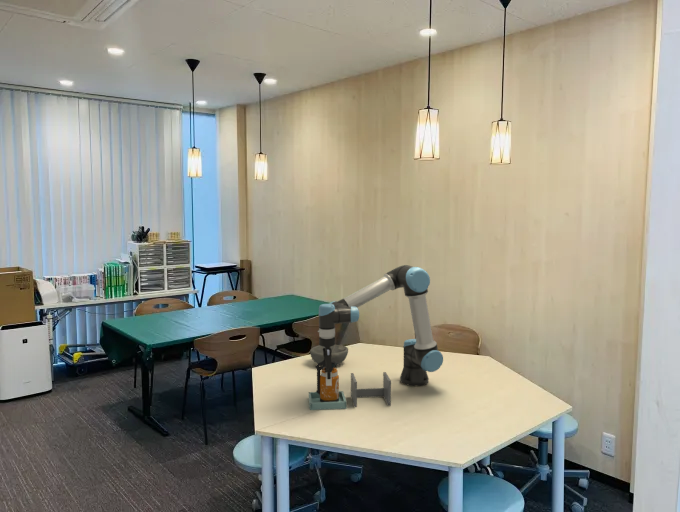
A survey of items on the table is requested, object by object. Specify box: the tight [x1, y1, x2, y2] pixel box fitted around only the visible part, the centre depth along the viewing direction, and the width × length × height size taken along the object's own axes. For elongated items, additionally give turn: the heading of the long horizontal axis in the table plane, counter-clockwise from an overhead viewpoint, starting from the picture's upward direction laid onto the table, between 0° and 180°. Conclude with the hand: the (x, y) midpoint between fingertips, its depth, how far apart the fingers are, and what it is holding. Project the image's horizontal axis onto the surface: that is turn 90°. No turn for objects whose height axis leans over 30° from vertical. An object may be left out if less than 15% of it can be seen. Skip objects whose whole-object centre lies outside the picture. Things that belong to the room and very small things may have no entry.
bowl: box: [309, 344, 349, 366], centre depth 316 cm, size 23×22×10 cm
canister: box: [315, 360, 340, 402], centre depth 253 cm, size 9×11×20 cm
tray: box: [308, 390, 348, 411], centre depth 253 cm, size 17×15×3 cm
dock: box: [350, 371, 392, 408], centre depth 256 cm, size 17×14×12 cm
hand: (327, 380), depth 252 cm, fingers open, 13 cm apart
